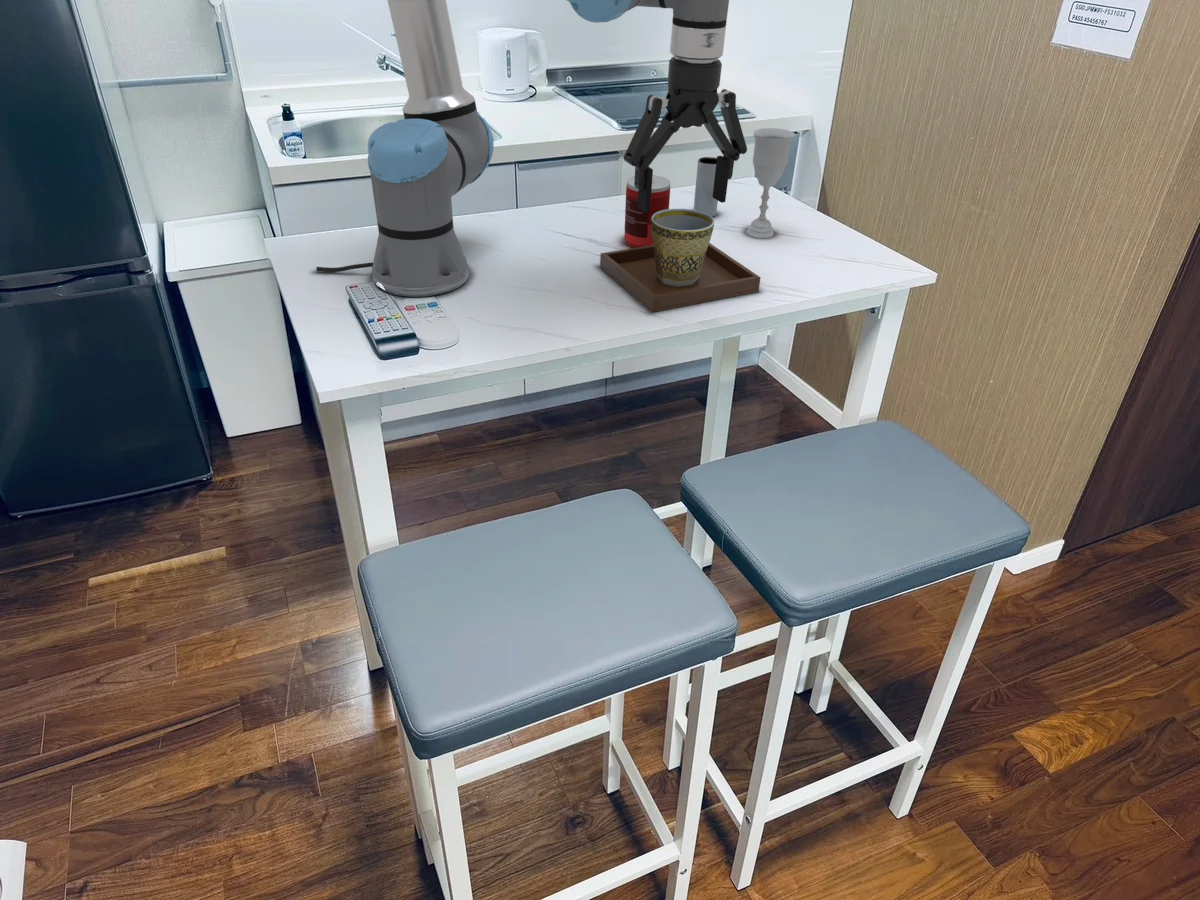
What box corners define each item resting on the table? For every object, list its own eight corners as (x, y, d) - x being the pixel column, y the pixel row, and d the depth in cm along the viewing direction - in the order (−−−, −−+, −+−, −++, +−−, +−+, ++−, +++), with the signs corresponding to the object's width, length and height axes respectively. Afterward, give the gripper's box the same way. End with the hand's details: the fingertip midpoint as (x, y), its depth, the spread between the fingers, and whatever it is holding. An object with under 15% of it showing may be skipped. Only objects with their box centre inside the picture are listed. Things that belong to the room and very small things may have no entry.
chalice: (749, 241, 153) (763, 139, 142) (734, 228, 158) (746, 129, 148) (786, 237, 155) (802, 137, 144) (770, 224, 160) (784, 127, 149)
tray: (651, 312, 128) (652, 297, 127) (599, 267, 142) (600, 253, 140) (758, 291, 135) (760, 277, 134) (699, 250, 149) (700, 236, 147)
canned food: (667, 235, 154) (671, 175, 148) (665, 252, 148) (670, 190, 141) (625, 232, 155) (628, 173, 148) (622, 249, 148) (624, 187, 142)
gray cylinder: (704, 208, 167) (709, 155, 161) (721, 214, 164) (727, 161, 158) (688, 212, 164) (693, 159, 158) (704, 219, 161) (710, 165, 155)
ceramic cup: (694, 296, 132) (700, 235, 126) (637, 283, 136) (640, 223, 130) (723, 267, 141) (730, 209, 136) (669, 256, 145) (673, 199, 139)
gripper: (629, 68, 112) (621, 222, 124) (783, 58, 121) (761, 203, 133) (605, 56, 117) (599, 205, 129) (754, 48, 126) (735, 188, 138)
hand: (681, 204), depth 131 cm, fingers open, 13 cm apart
